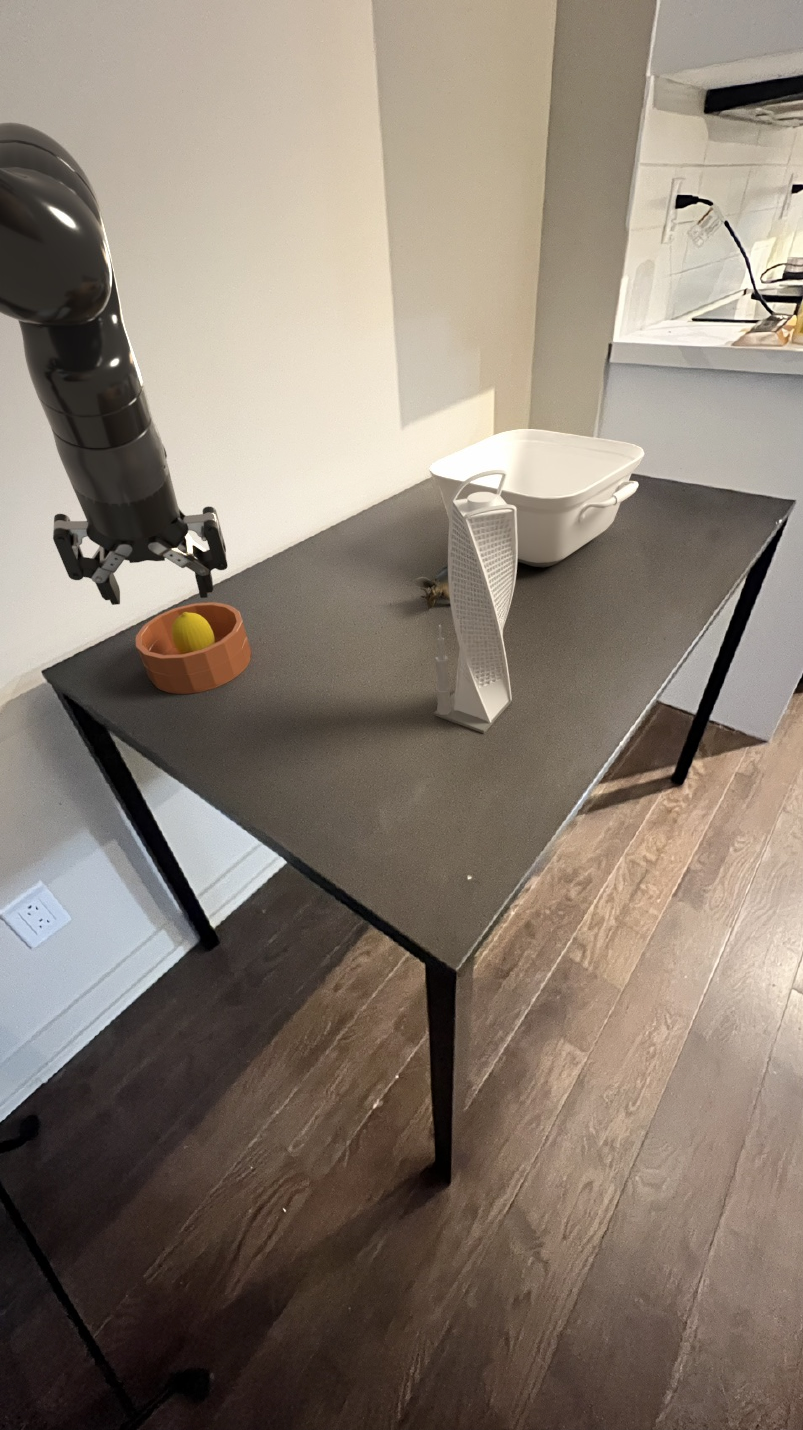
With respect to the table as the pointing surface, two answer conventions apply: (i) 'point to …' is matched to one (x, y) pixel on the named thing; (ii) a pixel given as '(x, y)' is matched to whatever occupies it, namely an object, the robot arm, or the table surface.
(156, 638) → the bowl
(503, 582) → the white tall perforated tower
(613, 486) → the white tub with handles
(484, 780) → the table surface
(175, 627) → the lemon
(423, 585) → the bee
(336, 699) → the table surface
